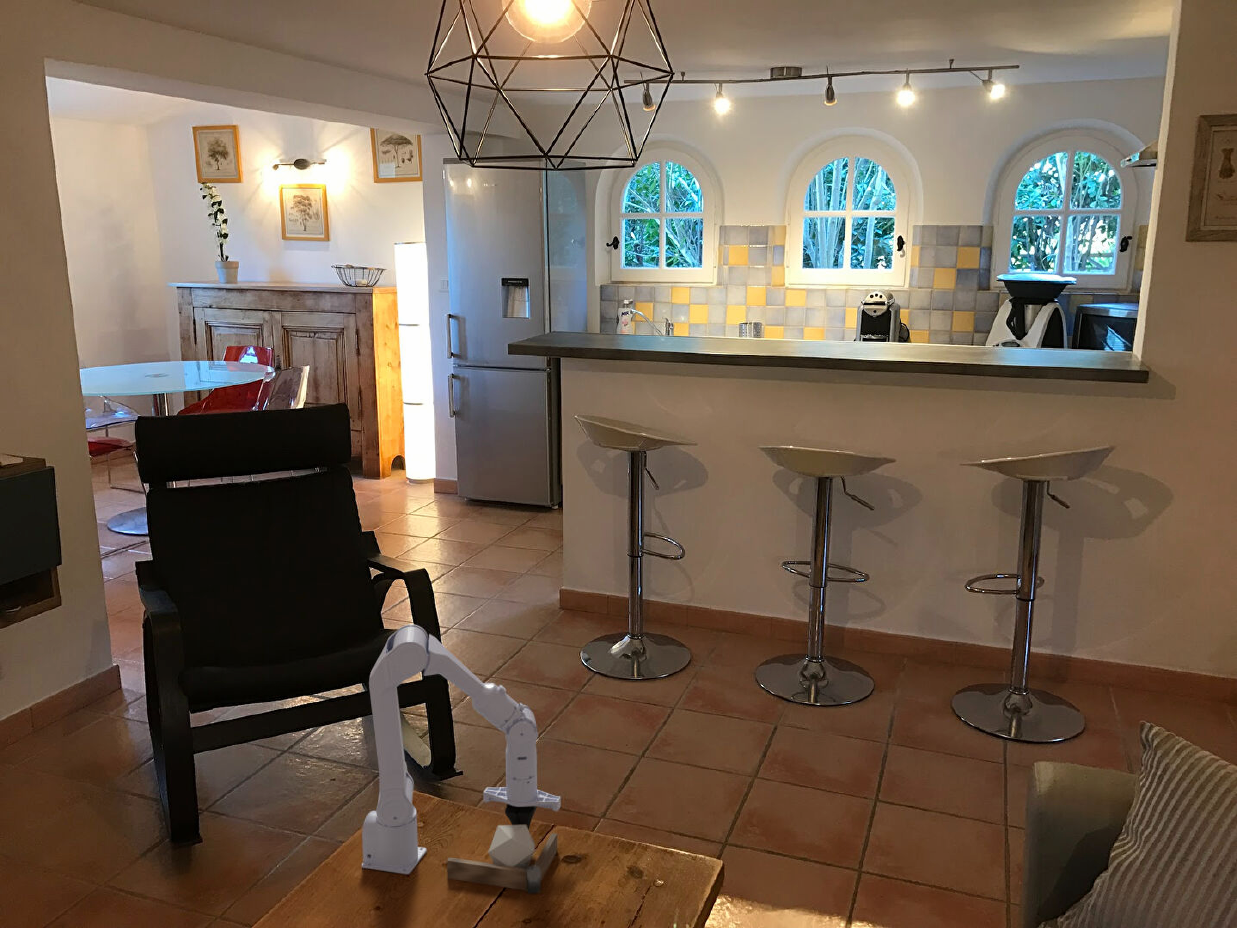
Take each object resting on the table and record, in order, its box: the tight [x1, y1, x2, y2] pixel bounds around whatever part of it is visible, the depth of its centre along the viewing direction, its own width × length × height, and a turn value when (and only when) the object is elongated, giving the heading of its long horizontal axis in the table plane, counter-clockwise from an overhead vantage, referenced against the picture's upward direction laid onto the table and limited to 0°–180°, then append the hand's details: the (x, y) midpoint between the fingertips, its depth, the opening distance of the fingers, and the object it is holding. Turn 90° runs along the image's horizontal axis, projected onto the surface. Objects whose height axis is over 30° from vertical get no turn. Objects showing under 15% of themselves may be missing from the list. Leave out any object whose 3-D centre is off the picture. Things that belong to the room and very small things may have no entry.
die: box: [487, 824, 536, 869], centre depth 182 cm, size 8×9×10 cm
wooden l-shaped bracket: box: [446, 832, 558, 895], centre depth 183 cm, size 17×14×4 cm
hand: (522, 839), depth 188 cm, fingers closed
